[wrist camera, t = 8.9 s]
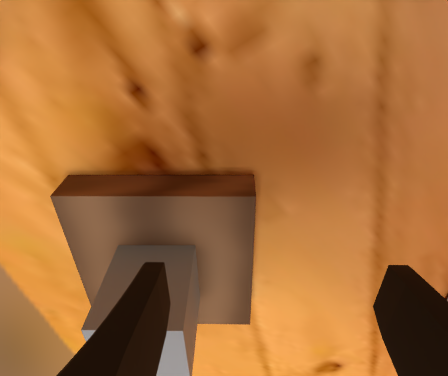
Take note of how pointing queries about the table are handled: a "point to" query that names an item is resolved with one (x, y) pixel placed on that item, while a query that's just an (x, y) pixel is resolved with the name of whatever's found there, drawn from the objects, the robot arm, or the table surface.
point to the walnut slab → (166, 230)
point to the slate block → (178, 290)
